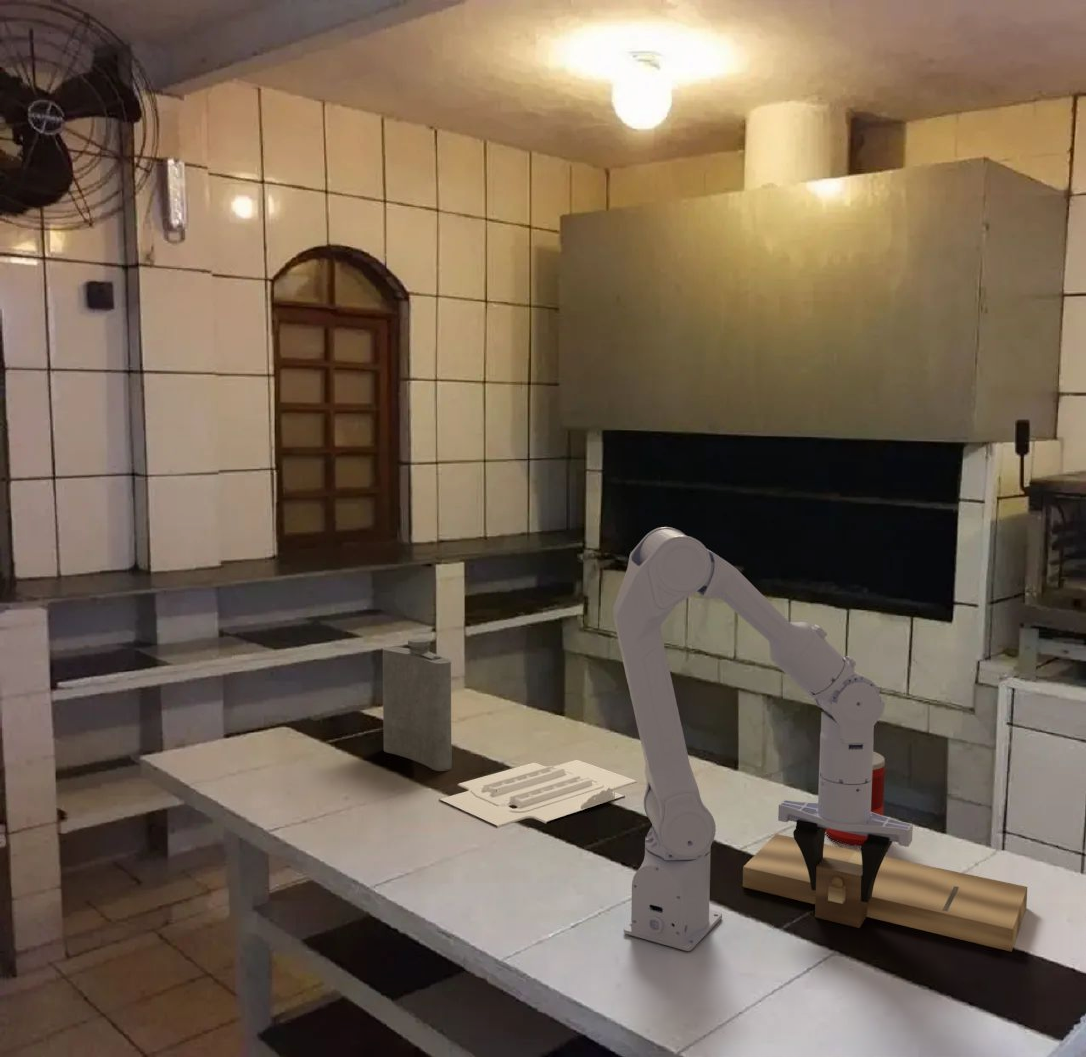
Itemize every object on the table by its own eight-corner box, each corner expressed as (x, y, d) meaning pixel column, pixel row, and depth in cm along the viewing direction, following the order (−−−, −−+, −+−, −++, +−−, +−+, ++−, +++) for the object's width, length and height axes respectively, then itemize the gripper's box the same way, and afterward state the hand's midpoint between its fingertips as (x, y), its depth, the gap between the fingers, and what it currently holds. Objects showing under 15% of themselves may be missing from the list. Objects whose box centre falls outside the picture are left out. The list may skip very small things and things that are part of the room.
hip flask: (379, 750, 181) (378, 633, 179) (399, 744, 184) (397, 630, 182) (440, 772, 170) (439, 648, 168) (459, 766, 173) (459, 644, 170)
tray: (424, 799, 160) (425, 774, 159) (561, 766, 178) (562, 744, 178) (513, 840, 145) (514, 813, 144) (652, 799, 163) (653, 775, 163)
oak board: (1011, 951, 114) (1012, 929, 113) (742, 886, 129) (743, 866, 129) (1026, 907, 124) (1027, 886, 124) (775, 852, 139) (776, 833, 139)
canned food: (870, 823, 149) (873, 746, 148) (891, 846, 141) (894, 765, 140) (816, 823, 149) (818, 747, 148) (833, 846, 141) (836, 765, 140)
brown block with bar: (857, 931, 118) (859, 879, 117) (812, 920, 120) (813, 869, 120) (881, 893, 127) (883, 845, 127) (839, 884, 130) (841, 836, 129)
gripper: (920, 777, 119) (915, 894, 121) (793, 755, 127) (790, 865, 128) (906, 796, 113) (901, 919, 115) (773, 772, 120) (770, 888, 122)
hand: (841, 892), depth 121 cm, fingers closed on brown block with bar, 5 cm apart
